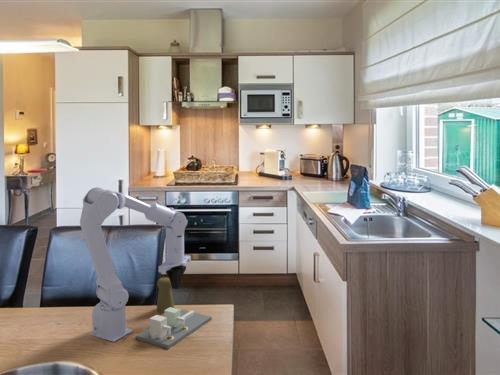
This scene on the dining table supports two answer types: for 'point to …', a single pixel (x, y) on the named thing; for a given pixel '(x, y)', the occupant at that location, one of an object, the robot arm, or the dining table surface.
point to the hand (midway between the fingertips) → (175, 288)
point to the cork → (164, 295)
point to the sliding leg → (173, 316)
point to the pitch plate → (172, 329)
